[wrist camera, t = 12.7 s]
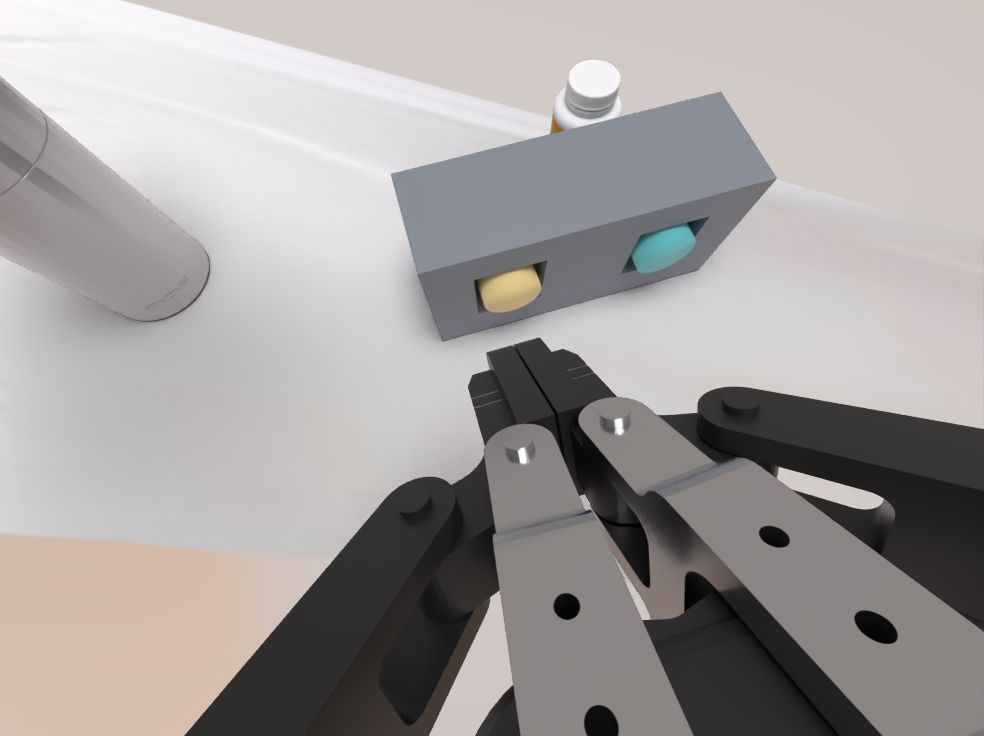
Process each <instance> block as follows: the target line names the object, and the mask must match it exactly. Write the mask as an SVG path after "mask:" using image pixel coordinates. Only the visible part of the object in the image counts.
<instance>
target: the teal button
mask: <svg viewBox="0 0 984 736" xmlns="http://www.w3.org/2000/svg"><path fill="white" fill-rule="evenodd" d="M695 243H696V239H695V237H694V235H693V233H692V232H691V230H690V228H689V226H688V224H687V223H683V224H679V225H676V226H672V227H668V228H665V229H661V230H657V231H653V232H650V233H646V234H642V235H641V236H640V237H639V239H638V241H637V243H636V245H635V247H634V249H633V251H632V253H631V258H632V260H633V262H634V264H635V266H636V268H637V270H638V271H639V272H641V273H650V272H655V271H658V270H661V269H663V268H666V267H668V266H670V265H672V264H674V263H675V262H677V261H679V260H680V259H682V258H683V257H684V256H685V255H687V254H688V253H689V252H690V251H691V250H692V249H693V247H694V246H695Z"/></svg>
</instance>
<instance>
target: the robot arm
mask: <svg viewBox="0 0 984 736" xmlns="http://www.w3.org/2000/svg"><path fill="white" fill-rule="evenodd" d="M0 256H2V257H4V258H6V259H8V260H10V261H12V262H14V263H16V264H18V265H20V266H23V267H25V268H27V269H29V270H31V271H33V272H35V273H37V274H39V275H41V276H43V277H45V278H47V279H49V280H51V281H53V282H56V283H58V284H60V285H62V286H64V287H66V288H68V289H70V290H72V291H74V292H76V293H78V294H80V295H82V296H84V297H86V298H88V299H90V300H92V301H94V302H97V303H99V304H101V305H103V306H105V307H107V308H109V309H111V310H113V311H115V312H117V313H119V314H121V315H123V316H126V317H128V318H131V319H134V320H140V321H153V320H159V319H162V318H166V317H169V316H171V315H173V314H175V313H177V312H179V311H180V310H182V309H183V308H185V307H186V306H188V305H189V304H190V303H191V302H192V301H193V300H194V299H195V298H196V297H197V295H198V294H199V293H200V291H201V290H202V288H203V286H204V284H205V282H206V280H207V276H208V273H209V261H208V256H207V254H206V252H205V250H204V248H203V247H202V246H201V245H200V244H199V243H198V242H197V241H196V240H195V239H193V238H192V237H191V236H190V235H189V234H188V233H186V232H185V231H184V230H183V229H182V228H180V227H179V226H178V225H177V224H176V223H174V222H173V221H172V220H171V219H170V218H169V217H167V216H166V215H165V214H164V213H163V212H162V211H160V210H159V209H158V208H157V207H156V206H154V205H153V204H152V203H151V202H150V201H149V200H147V199H146V198H145V197H144V196H143V195H141V194H140V193H139V192H138V191H137V190H135V189H134V188H133V187H132V186H131V185H129V184H128V183H127V182H126V181H125V180H124V179H122V178H121V177H120V176H119V175H118V174H116V173H115V172H114V171H113V170H112V169H110V168H109V167H108V166H107V165H106V164H104V163H103V162H102V161H101V160H100V159H99V158H97V157H96V156H95V155H94V154H93V153H91V152H90V151H89V150H88V149H87V148H85V147H84V146H83V145H82V144H81V143H79V142H78V141H77V140H76V139H75V138H73V137H72V136H71V135H70V134H69V133H68V132H66V131H65V130H64V129H63V128H62V127H60V126H59V125H58V124H57V123H56V122H54V121H53V120H52V119H51V118H50V117H48V116H47V115H46V114H45V113H44V112H43V111H41V110H40V109H39V108H38V107H36V106H35V105H34V104H33V103H31V102H30V101H29V100H28V99H27V98H25V97H24V96H23V95H22V94H21V93H19V92H18V91H17V90H16V89H15V88H14V87H12V86H11V85H10V84H9V83H8V82H6V81H5V80H4V79H3V78H2V77H0ZM486 355H487V360H488V364H489V368H490V370H488V371H485V372H481V373H478V374H474V375H473V376H472V378H471V380H470V383H469V385H468V389H469V392H470V396H471V399H472V403H473V406H474V410H475V413H476V417H477V420H478V424H479V427H480V431H481V434H482V438H483V441H484V444H485V449H484V456H483V459H482V461H481V462H480V464H479V465H478V466H477V467H476V468H475V469H474V471H472V472H471V473H470V474H469V475H467V476H466V477H464V478H463V479H461V480H459V481H458V482H456V483H454V484H453V485H450V484H449V483H448V482H447V481H445V480H443V479H441V478H437V477H422V478H418V479H414V480H411V481H409V482H407V483H405V484H403V485H401V486H400V487H398V488H396V489H395V490H394V491H393V492H392V493H390V494H389V496H388V497H387V498H386V499H385V500H384V501H383V502H382V503H381V505H380V506H379V507H378V508H377V509H376V511H375V512H374V513H373V514H372V515H371V516H370V518H369V519H368V520H367V521H366V522H365V523H364V525H363V526H362V527H361V528H360V529H359V531H358V532H357V533H356V534H355V535H354V536H353V538H352V539H351V540H350V541H349V542H348V544H347V545H346V546H345V547H344V548H343V549H342V551H341V552H340V553H339V554H338V555H337V556H336V558H335V559H334V560H333V561H332V562H331V564H330V565H329V566H328V567H327V568H326V569H325V571H324V572H323V573H322V574H321V576H320V577H319V578H318V579H317V580H316V581H315V582H314V584H313V585H312V586H311V587H310V588H309V590H308V591H307V592H306V593H305V594H304V595H303V597H302V598H301V599H300V600H299V601H298V603H297V604H296V605H295V606H294V607H293V608H292V610H291V611H290V612H289V613H288V614H287V615H286V617H285V618H284V619H283V620H282V621H281V623H280V624H279V625H278V626H277V627H276V629H275V630H274V631H273V632H272V633H271V634H270V635H269V637H268V638H267V639H266V640H265V641H264V643H263V644H262V645H261V646H260V647H259V649H258V650H257V651H256V652H255V653H254V654H253V656H252V657H251V658H250V659H249V660H248V661H247V663H246V664H245V665H244V666H243V667H242V668H241V670H240V671H239V672H238V673H237V674H236V676H235V677H234V678H233V679H232V680H231V681H230V683H229V684H228V685H227V686H226V687H225V689H224V690H223V691H222V692H221V693H220V694H219V696H218V697H217V698H216V699H215V700H214V702H213V703H212V704H211V705H210V706H209V707H208V709H207V710H206V711H205V712H204V713H203V715H202V716H201V717H200V718H199V719H198V720H197V722H196V723H195V724H194V725H193V726H192V727H191V729H190V730H189V731H188V732H187V733H186V734H185V736H429V734H430V732H431V730H432V728H433V726H434V723H435V721H436V719H437V717H438V715H439V712H440V711H441V709H442V706H443V704H444V702H445V700H446V698H447V696H448V694H449V692H450V689H451V687H452V685H453V683H454V681H455V679H456V677H457V675H458V672H459V670H460V668H461V666H462V664H463V662H464V660H465V658H466V655H467V653H468V651H469V649H470V646H471V645H472V643H473V640H474V638H475V636H476V634H477V632H478V630H479V628H480V626H481V623H482V621H483V619H484V617H485V615H486V613H487V610H488V608H489V603H490V597H491V596H492V595H494V594H495V593H496V592H498V591H499V590H500V595H501V602H502V608H503V615H504V623H505V630H506V636H507V643H508V650H509V656H510V657H509V658H510V665H511V671H512V679H513V686H511V687H510V688H509V689H508V690H507V691H506V692H505V693H504V695H503V696H502V697H501V698H500V699H499V701H498V702H497V703H496V704H495V706H494V707H493V708H492V709H491V711H490V712H489V714H488V715H487V717H486V718H485V720H484V722H483V723H482V725H481V726H480V728H479V729H478V731H477V734H476V735H475V736H984V429H980V428H974V427H969V426H963V425H957V424H952V423H946V422H940V421H935V420H929V419H923V418H918V417H912V416H906V415H901V414H895V413H889V412H883V411H878V410H872V409H866V408H861V407H855V406H849V405H844V404H838V403H832V402H827V401H821V400H815V399H810V398H804V397H798V396H792V395H787V394H781V393H775V392H770V391H764V390H758V389H753V388H746V387H723V388H718V389H714V390H711V391H709V392H707V393H705V394H704V395H703V396H702V397H701V398H700V399H699V401H698V408H697V413H690V414H677V415H656V414H655V413H654V412H653V411H652V410H650V409H649V408H648V407H647V406H645V405H644V404H643V403H641V402H639V401H636V400H633V399H629V398H622V397H617V396H616V395H615V394H614V393H613V392H612V391H611V390H610V389H609V388H608V387H607V386H606V384H605V383H604V382H603V381H602V380H601V379H600V378H599V377H598V376H597V375H596V374H595V373H593V371H592V370H591V368H590V367H589V366H587V365H586V363H585V362H584V361H583V360H582V359H581V358H580V357H579V356H578V355H577V354H575V353H572V352H570V351H567V350H564V349H561V350H558V351H554V352H551V351H550V349H549V348H548V347H547V346H546V344H545V343H544V342H543V341H542V340H541V338H536V339H532V340H529V341H525V342H522V343H518V344H515V345H513V346H512V345H511V346H508V347H504V348H501V349H497V350H494V351H490V352H487V353H486ZM779 467H782V468H785V469H789V470H793V471H796V472H800V473H804V474H807V475H811V476H814V477H818V478H822V479H825V480H829V481H833V482H836V483H840V484H844V485H847V486H851V487H854V488H858V489H862V490H865V491H869V492H872V493H874V494H876V495H879V496H880V497H882V498H884V500H883V503H882V504H881V505H880V506H879V507H877V508H874V509H867V510H863V509H856V508H852V507H848V506H845V505H842V504H838V503H835V502H832V501H828V500H825V499H822V498H818V497H815V496H812V495H808V494H805V493H802V492H798V491H795V490H792V489H790V488H789V487H787V486H786V485H785V484H783V483H782V482H781V481H779V480H778V479H777V475H778V469H779ZM583 494H585V495H586V497H587V499H588V501H589V503H590V507H591V510H587V511H585V509H584V506H583V504H582V502H581V499H580V497H579V496H580V495H583ZM612 553H613V554H612ZM613 555H614V556H615V558H616V559H617V561H618V562H619V564H620V565H621V567H622V569H623V570H624V572H625V573H626V575H627V576H628V578H629V579H630V581H631V583H632V584H633V586H634V587H635V589H636V590H637V592H638V593H639V595H640V597H641V598H642V600H643V602H644V604H645V606H646V608H647V610H648V612H649V615H650V618H651V620H642V619H641V617H640V614H639V612H638V610H637V608H636V605H635V603H634V601H633V599H632V596H631V594H630V592H629V590H628V587H627V585H626V583H625V581H624V578H623V576H622V574H621V572H620V569H619V567H618V565H617V563H616V560H615V558H614V556H613Z"/></svg>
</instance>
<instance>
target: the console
mask: <svg viewBox="0 0 984 736" xmlns="http://www.w3.org/2000/svg"><path fill="white" fill-rule="evenodd" d="M391 177H392V180H393V184H394V188H395V192H396V195H397V199H398V203H399V207H400V210H401V214H402V218H403V221H404V225H405V229H406V233H407V236H408V240H409V244H410V248H411V251H412V255H413V259H414V262H415V266H416V270H417V274H418V277H419V279H420V282H421V284H422V287H423V290H424V292H425V295H426V298H427V300H428V303H429V306H430V308H431V311H432V314H433V316H434V319H435V322H436V324H437V327H438V330H439V332H440V335H441V337H442V340H443V341H446V340H450V339H453V338H457V337H460V336H464V335H467V334H471V333H475V332H478V331H482V330H485V329H489V328H492V327H496V326H500V325H503V324H507V323H510V322H514V321H517V320H521V319H525V318H528V317H532V316H535V315H539V314H542V313H546V312H550V311H553V310H557V309H560V308H564V307H568V306H571V305H575V304H578V303H582V302H585V301H589V300H593V299H596V298H600V297H603V296H607V295H610V294H614V293H618V292H621V291H625V290H628V289H632V288H635V287H639V286H643V285H646V284H650V283H653V282H657V281H661V280H664V279H668V278H671V277H675V276H678V275H682V274H686V273H689V272H693V271H696V270H699V268H700V267H701V266H702V265H703V264H704V263H705V261H706V260H707V259H708V258H709V257H710V256H711V254H712V253H713V252H714V251H715V250H716V249H717V247H718V246H719V245H720V244H721V243H722V242H723V241H724V239H725V238H726V237H727V236H728V235H729V234H730V232H731V231H732V230H733V229H734V228H735V227H736V225H737V224H738V223H739V222H740V221H741V220H742V218H743V217H744V216H745V215H746V214H747V213H748V211H749V210H750V209H751V208H752V207H753V206H754V204H755V203H756V202H757V201H758V200H759V199H760V197H761V196H762V195H763V194H764V193H765V192H766V190H767V189H768V188H769V187H770V186H771V185H772V183H773V182H774V181H775V180H776V179H777V178H776V176H775V174H774V173H773V171H772V170H771V168H770V167H769V165H768V164H767V162H766V161H765V159H764V157H763V156H762V154H761V153H760V151H759V150H758V148H757V147H756V145H755V144H754V142H753V140H752V139H751V137H750V136H749V134H748V133H747V131H746V130H745V128H744V127H743V125H742V124H741V122H740V120H739V119H738V117H737V116H736V114H735V113H734V111H733V109H732V108H731V107H730V105H729V103H728V102H727V100H726V99H725V97H724V96H723V94H722V92H718V93H714V94H710V95H706V96H702V97H698V98H694V99H690V100H686V101H682V102H678V103H674V104H670V105H666V106H662V107H658V108H654V109H650V110H646V111H642V112H638V113H634V114H630V115H625V116H621V117H617V118H613V119H609V120H605V121H601V122H597V123H593V124H589V125H585V126H581V127H577V128H573V129H569V130H565V131H561V132H557V133H553V134H549V135H545V136H541V137H537V138H533V139H529V140H525V141H521V142H517V143H513V144H509V145H505V146H501V147H497V148H493V149H489V150H485V151H481V152H477V153H473V154H469V155H465V156H461V157H457V158H453V159H449V160H445V161H441V162H437V163H433V164H429V165H425V166H421V167H417V168H413V169H409V170H405V171H401V172H397V173H393V174H391ZM683 223H687V224H688V226H689V228H690V230H691V232H692V233H693V235H694V237H695V239H696V243H695V246H694V247H693V249H692V250H691V251H690V252H689V253H688V254H687V255H685V256H684V257H683V258H682V259H680V260H679V261H677V262H675V263H674V264H672V265H670V266H668V267H666V268H663V269H661V270H658V271H655V272H650V273H641V272H639V271H638V270H637V268H636V266H635V264H634V262H633V260H632V258H631V253H632V251H633V249H634V247H635V245H636V243H637V241H638V239H639V237H640V236H641V235H642V234H646V233H650V232H653V231H657V230H661V229H665V228H668V227H672V226H676V225H679V224H683ZM532 264H533V265H534V268H535V270H536V273H537V276H538V278H539V281H540V284H541V287H542V289H541V292H540V294H539V295H538V296H537V297H536V298H535V299H534V300H533V301H532V302H530V303H528V304H527V305H525V306H523V307H521V308H518V309H515V310H512V311H508V312H499V313H497V312H491V311H488V310H487V309H486V308H485V307H484V304H483V300H482V297H481V294H480V291H479V288H478V285H477V282H476V279H480V278H484V277H487V276H491V275H495V274H498V273H502V272H506V271H509V270H513V269H517V268H520V267H524V266H528V265H532Z"/></svg>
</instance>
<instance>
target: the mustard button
mask: <svg viewBox="0 0 984 736" xmlns="http://www.w3.org/2000/svg"><path fill="white" fill-rule="evenodd" d="M476 282H477V285H478V288H479V291H480V294H481V297H482V300H483V304H484V307H485V308H486V309H487V310H488V311H491V312H497V313H499V312H508V311H512V310H515V309H518V308H521V307H523V306H525V305H527V304H528V303H530V302H532V301H533V300H534V299H535V298H536V297H537V296H538V295H539V294H540V292H541V289H542V287H541V284H540V281H539V278H538V276H537V273H536V270H535V268H534V265H533V264H532V265H528V266H524V267H520V268H517V269H513V270H509V271H506V272H502V273H498V274H495V275H491V276H487V277H484V278H480V279H476Z"/></svg>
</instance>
